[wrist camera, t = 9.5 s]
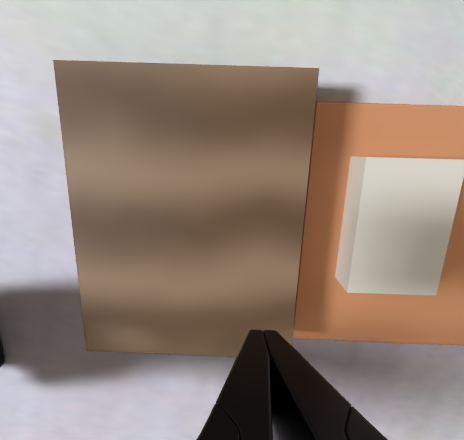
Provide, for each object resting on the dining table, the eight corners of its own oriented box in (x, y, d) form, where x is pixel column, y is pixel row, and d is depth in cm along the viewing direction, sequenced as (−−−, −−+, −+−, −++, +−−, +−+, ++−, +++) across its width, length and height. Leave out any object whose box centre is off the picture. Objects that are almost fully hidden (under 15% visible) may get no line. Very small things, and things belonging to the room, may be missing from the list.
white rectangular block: (347, 292, 18) (334, 276, 21) (436, 295, 18) (413, 279, 21) (366, 156, 16) (350, 156, 19) (467, 159, 16) (438, 158, 19)
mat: (461, 341, 23) (465, 345, 22) (291, 334, 23) (293, 338, 22) (525, 109, 18) (533, 108, 18) (315, 102, 18) (317, 101, 18)
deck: (280, 323, 22) (289, 359, 19) (112, 316, 23) (86, 350, 19) (301, 86, 18) (319, 68, 14) (92, 79, 18) (53, 60, 14)
